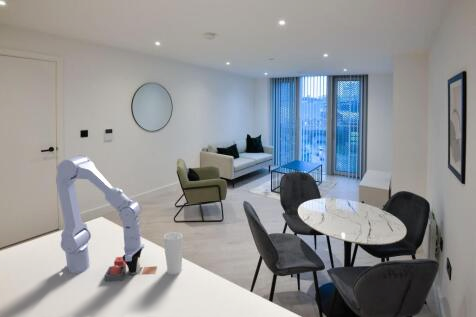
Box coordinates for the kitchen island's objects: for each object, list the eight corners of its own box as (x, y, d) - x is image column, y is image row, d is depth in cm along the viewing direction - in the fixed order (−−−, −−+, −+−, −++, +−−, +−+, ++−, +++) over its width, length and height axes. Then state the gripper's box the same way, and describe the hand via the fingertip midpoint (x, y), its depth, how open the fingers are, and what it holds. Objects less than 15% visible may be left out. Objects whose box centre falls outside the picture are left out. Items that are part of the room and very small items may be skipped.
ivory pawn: (127, 270, 113) (126, 258, 112) (137, 266, 115) (137, 254, 114) (131, 275, 110) (130, 262, 109) (141, 271, 112) (141, 259, 111)
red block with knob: (114, 269, 113) (113, 260, 112) (117, 265, 117) (116, 256, 116) (124, 269, 114) (123, 260, 113) (126, 264, 117) (125, 255, 116)
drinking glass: (165, 279, 109) (164, 240, 106) (165, 269, 115) (163, 232, 112) (184, 276, 111) (183, 238, 108) (182, 266, 117) (181, 230, 114)
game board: (104, 284, 106) (104, 281, 106) (114, 265, 117) (114, 263, 117) (153, 281, 107) (153, 279, 107) (158, 263, 119) (158, 261, 119)
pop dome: (108, 277, 107) (107, 269, 106) (111, 271, 110) (111, 263, 110) (119, 277, 107) (118, 268, 106) (122, 271, 111) (121, 262, 110)
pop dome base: (104, 281, 106) (104, 275, 105) (110, 272, 112) (109, 266, 111) (121, 280, 106) (121, 274, 106) (126, 271, 112) (125, 265, 112)
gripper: (138, 244, 103) (141, 279, 105) (147, 226, 117) (148, 258, 120) (117, 244, 102) (120, 280, 105) (128, 227, 116) (130, 259, 119)
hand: (134, 268), depth 112 cm, fingers closed on ivory pawn, 4 cm apart
